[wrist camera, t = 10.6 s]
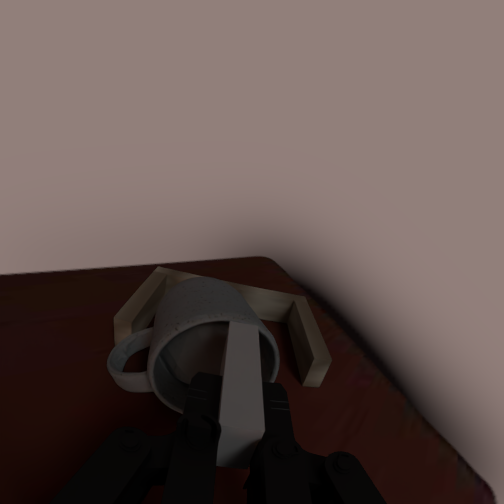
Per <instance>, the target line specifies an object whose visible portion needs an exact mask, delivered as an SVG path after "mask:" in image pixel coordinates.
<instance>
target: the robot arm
mask: <svg viewBox="0 0 504 504" xmlns="http://www.w3.org/2000/svg"><path fill="white" fill-rule="evenodd" d="M249 464H250V474H249V476H248V478H247V480H246V482H245V484H244V487H243V489H246V488H247V504H387V503H386V502H385V500H384V499H383V497H382V496H381V494H380V493H379V491H378V490H377V488H376V487H375V485H374V484H373V482H372V481H371V479H370V478H369V476H368V474H367V473H366V471H365V470H364V468H363V467H362V465H361V464H360V462H359V461H358V460H357V458H356V457H355V456H353V455H351V454H350V453H347V452H342V451H340V452H334V453H332V454H330V455H329V456H328V457H324V456H320V455H316V454H312V453H309V452H307V451H305V450H303V449H302V448H301V446H300V445H299V444H298V443H297V442H296V441H295V438H294V433H293V427H292V421H291V415H290V411H289V403H288V397H287V392H286V390H285V389H284V388H283V386H282V385H281V384H280V383H272V382H263V381H262V378H261V362H260V347H259V332H258V326H256V325H250V324H244V323H239V322H233V321H230V323H229V328H228V333H227V338H226V343H225V348H224V352H223V357H222V362H221V369H220V375H214V374H209V373H204V372H198V373H197V374H196V375H195V376H194V377H193V378H192V379H191V383H190V387H189V391H188V395H187V399H186V403H185V407H184V412H183V415H182V416H180V418H179V419H178V421H177V428H176V431H174V432H173V433H171V434H168V435H164V436H147V434H145V433H144V432H143V431H141V430H140V429H137V428H134V427H121V428H117V429H116V430H115V431H113V432H112V433H111V434H110V435H109V436H108V438H107V439H106V440H105V441H104V442H103V443H102V444H101V446H100V447H99V448H98V449H97V450H96V451H95V452H94V454H93V455H92V456H91V457H90V458H89V459H88V460H87V461H86V463H85V464H84V465H83V466H82V467H81V468H80V469H79V471H78V472H77V473H76V474H75V475H74V476H73V477H72V478H71V480H70V481H69V482H68V483H67V484H66V485H65V486H64V487H63V488H62V490H61V491H60V492H59V493H58V494H57V495H56V496H55V497H54V498H53V500H52V501H51V502H50V503H49V504H141V502H142V501H143V499H144V498H145V496H146V495H147V493H148V491H149V490H150V488H151V487H152V485H165V487H164V492H163V496H162V501H161V504H213V496H214V484H215V473H216V466H222V467H230V468H239V469H248V467H249Z"/></svg>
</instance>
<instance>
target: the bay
mask: <svg viewBox="0 0 504 504" xmlns="http://www.w3.org/2000/svg"><path fill="white" fill-rule="evenodd" d="M194 277H203V276H198V275H194V274H189V273H185V272H180V271H176V270H171V269H167V268H162V267H157V268H156V270H155V271H154V272H153V273H152V274H151V275H150V276H149V277H148V278H147V280H146V281H145V282H144V283H143V284H142V285H141V286H140V288H139V289H138V290H137V291H136V292H135V293H134V294H133V296H132V297H131V298H130V299H129V300H128V301H127V303H126V304H125V305H124V306H123V307H122V308H121V310H120V311H119V312H118V313H117V314H116V316H115V317H114V338H115V346H116V345H117V344H118V343H119V342H120V341H122V340H123V339H125V338H126V337H127V336H129V335H131V334H133V333H136V332H138V331H141V330H144V329H146V328H147V326H148V325H149V323H150V321H151V320H152V318H153V316H154V315H155V313H156V311H157V308H158V306H159V304H160V302H161V300H162V299H163V297H164V296H165V294H166V293H167V292H168V291H169V290H170V289H171V288H172V287H173V286H175V285H176V284H178V283H179V282H181V281H183V280H186V279H189V278H194ZM221 281H222V280H221ZM223 282H225V283H227V284H229V285H230V286H232V287H233V288H234V289H236V290H237V291H238V292H239V293H240V294H241V295H242V296H243V297H244V299H245V300H246V301H247V303H248V304H249V306H250V307H251V308H252V310H253V311H254V312H255V313H256V315H257V316H258V318H259V319H264V320H270V321H276V322H282V323H287V325H288V329H289V333H290V337H291V341H292V345H293V349H294V353H295V357H296V362H297V366H298V370H299V374H300V378H301V382H302V386H309V387H319V386H320V384H321V382H322V380H323V378H324V376H325V374H326V372H327V370H328V368H329V365H330V363H331V361H332V359H331V357H330V354H329V352H328V349H327V347H326V345H325V342H324V340H323V338H322V335H321V333H320V331H319V328H318V326H317V324H316V321H315V319H314V317H313V314H312V312H311V310H310V307H309V305H308V303H307V301H306V298H305V297H304V296H298V295H293V294H287V293H282V292H277V291H272V290H266V289H261V288H256V287H251V286H246V285H241V284H236V283H231V282H226V281H223Z"/></svg>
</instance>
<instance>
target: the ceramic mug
mask: <svg viewBox="0 0 504 504" xmlns="http://www.w3.org/2000/svg"><path fill="white" fill-rule="evenodd" d="M230 321H233V322H239V323H244V324H250V325H256V326H258V332H259V347H260V362H261V378H262V381H263V382H272V383H274V381H275V379H276V376H277V373H278V369H279V360H280V359H279V351H278V347H277V344H276V342H275V339H274V337H273V336H272V334H271V333H270V332H269V330H268V329H267V328H266V327H265V325H264V324H263V323H262V322H261V320H260V319H259V318H258V316H257V315H256V313H255V312H254V311H253V310H252V308H251V307H250V306H249V304H248V303H247V301H246V300H245V299H244V297H243V296H242V295H241V294H240V293H239V292H238V291H237V290H236V289H234V288H233V287H232V286H230V285H229V284H227V283H225V282H223V281H221V280H218V279H215V278H212V277H194V278H189V279H186V280H183V281H181V282H179V283H178V284H176V285H175V286H173V287H172V288H171V289H170V290H169V291H168V292H167V293H166V294H165V296H164V297H163V299H162V300H161V302H160V304H159V306H158V308H157V311H156V315H155V320H154V327H151V328H147V329H144V330H141V331H138V332H136V333H133V334H131V335H129V336H127V337H126V338H125V339H123V340H122V341H120V342H119V343H118V344H117V345H116V346H115V347H114V349H113V350H112V351H111V353H110V355H109V357H108V360H107V369H108V371H109V372H110V374H111V376H112V377H113V379H114V380H115V382H116V383H117V385H119V386H120V387H121V388H122V389H124V390H127V391H129V392H154V393H155V395H156V396H157V397H158V398H159V399H160V400H161V401H162V402H163V403H164V404H165V405H166V406H168V407H169V408H171V409H173V410H175V411H177V412H179V413H181V414H183V412H184V407H185V403H186V399H187V395H188V391H189V387H190V383H191V379H192V378H193V377H194V376H195V375H196V374H197V373H198V372H204V373H209V374H214V375H220V369H221V362H222V357H223V352H224V348H225V343H226V338H227V333H228V328H229V323H230ZM149 346H150V350H149V355H148V362H147V371H145V372H141V373H126V372H122V371H123V368H124V365H125V363H126V361H127V360H128V358H129V357H130V356H131V355H132V354H134V353H136V352H137V351H140V350H142V349H144V348H146V347H149Z"/></svg>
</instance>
